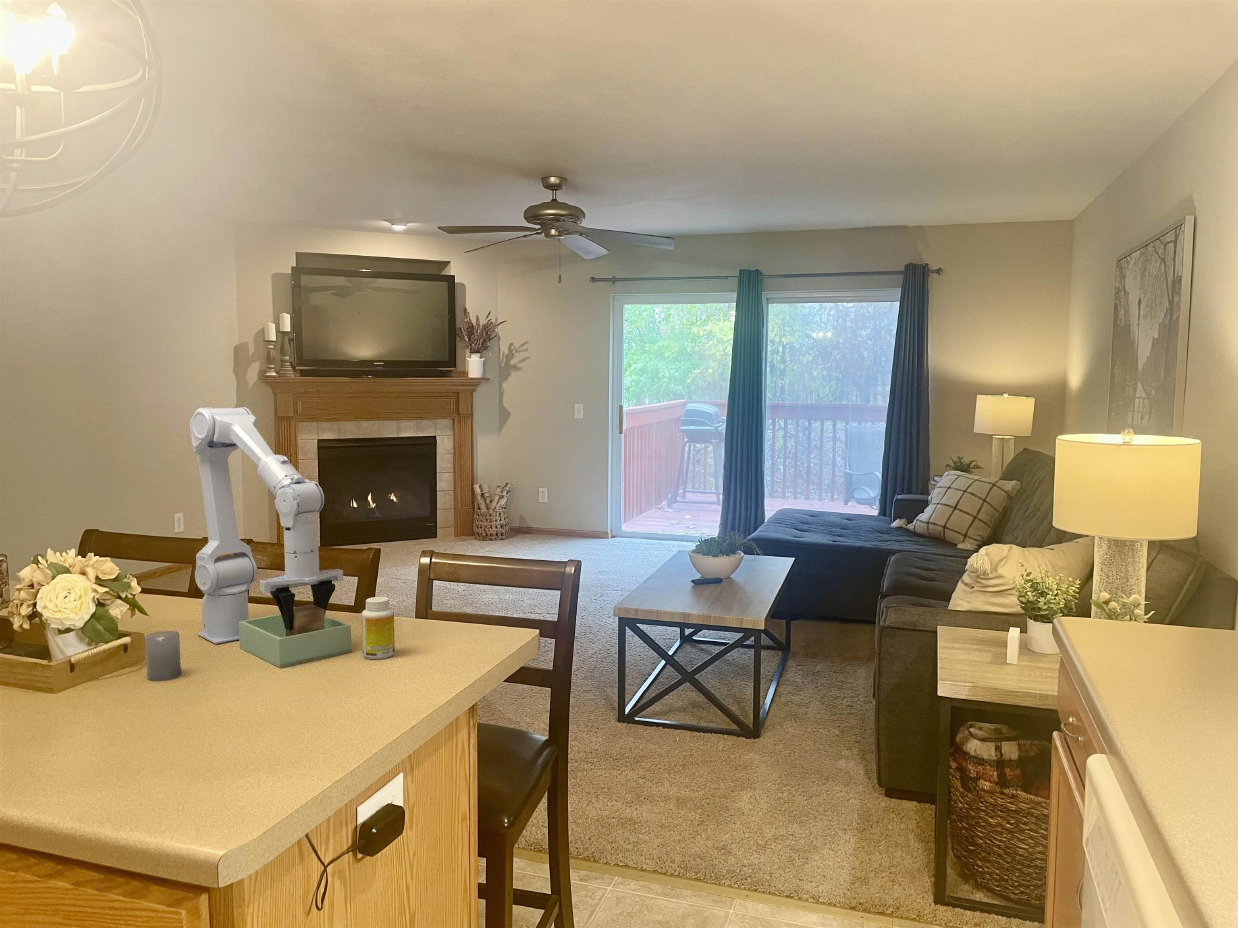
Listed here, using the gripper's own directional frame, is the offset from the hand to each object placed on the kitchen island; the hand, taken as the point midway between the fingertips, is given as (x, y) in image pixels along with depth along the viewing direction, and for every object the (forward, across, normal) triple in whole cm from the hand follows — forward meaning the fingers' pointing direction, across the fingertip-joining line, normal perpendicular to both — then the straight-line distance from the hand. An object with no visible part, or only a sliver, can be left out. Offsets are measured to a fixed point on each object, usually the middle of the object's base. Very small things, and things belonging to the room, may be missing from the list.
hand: (304, 626), depth 159 cm
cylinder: (+5, -22, +5) cm, 23 cm away
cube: (+2, 0, 0) cm, 2 cm away
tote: (+5, 0, +4) cm, 7 cm away
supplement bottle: (+5, +9, -10) cm, 14 cm away
